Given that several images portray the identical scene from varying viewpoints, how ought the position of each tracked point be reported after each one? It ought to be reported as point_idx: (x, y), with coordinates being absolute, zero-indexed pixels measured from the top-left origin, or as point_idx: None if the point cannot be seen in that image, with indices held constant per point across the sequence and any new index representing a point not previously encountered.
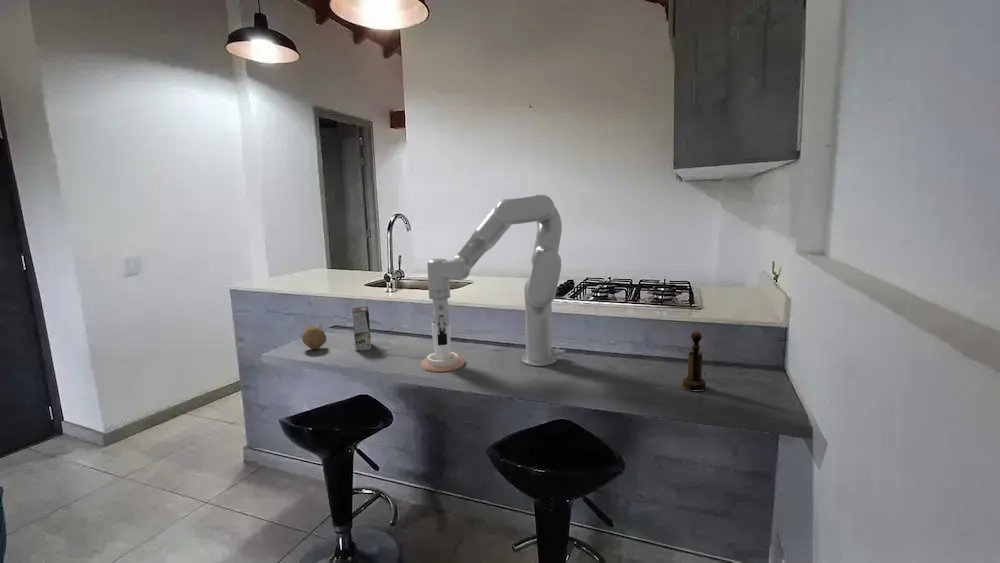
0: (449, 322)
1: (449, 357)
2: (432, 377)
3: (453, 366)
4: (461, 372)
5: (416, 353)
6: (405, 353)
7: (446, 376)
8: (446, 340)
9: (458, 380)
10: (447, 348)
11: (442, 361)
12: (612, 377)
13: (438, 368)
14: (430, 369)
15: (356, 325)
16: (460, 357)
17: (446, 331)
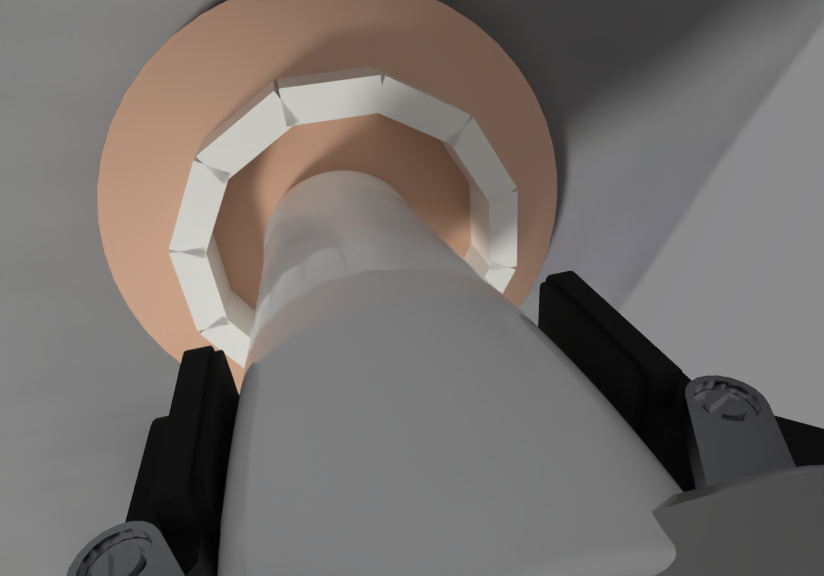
0: (649, 542)
1: (364, 178)
2: (631, 262)
3: (513, 112)
4: (605, 19)
5: (27, 494)
6: (44, 561)
7: (650, 159)
8: (599, 305)
9: (770, 47)
10: (443, 239)
11: (516, 237)
12: None
13: (529, 247)
14: (516, 305)
15: None
16: (213, 36)
17: (612, 405)
